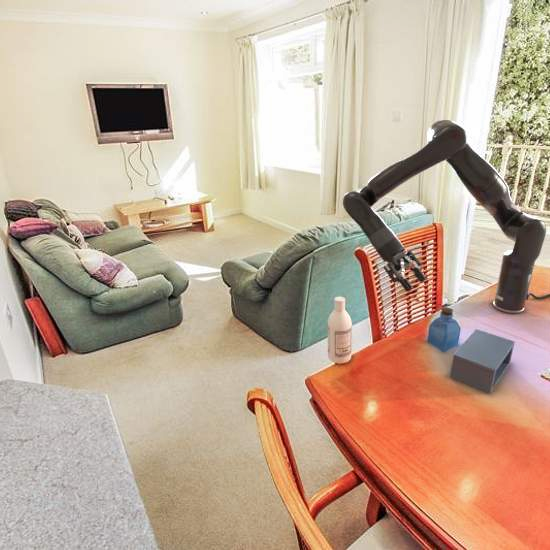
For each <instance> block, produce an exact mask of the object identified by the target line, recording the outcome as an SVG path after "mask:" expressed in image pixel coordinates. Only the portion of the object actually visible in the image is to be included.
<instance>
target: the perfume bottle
mask: <svg viewBox="0 0 550 550" xmlns="http://www.w3.org/2000/svg"><path fill="white" fill-rule="evenodd" d="M461 329H462V328H461V326H460V324H459V323H458V321H457V320H456V319H454V310H453V308H451V307H448V306H446V307H445V306H443V307H441V311H440V314H439V317H435V318H434V320H433V321H432V322H431V323H430V324H429V326H428V334H427V340H426V341H427V343H428V344H430V345H431V346H433V347H435V348H436V349H438V350H440V351H442V352H443V353H445V352H447V351H449V350H452V349H454V348H456V347H458V346H459V342H460V337H461Z"/></svg>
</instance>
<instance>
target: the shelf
mask: <svg viewBox="0 0 550 550" xmlns="http://www.w3.org/2000/svg"><path fill="white" fill-rule="evenodd" d="M515 343H516V342H515V341H514V340H511V339H508V338H506V337H505V338H504V337H503V336H500V335H496V334H493V333H489V332H486V331H483V330H480V329H477V328H476V329H475V330H474V331H473V332H472V333H471V334H470V335H469V336H468V337H467V339H465V341H464V342H463V343H462V344H461V345H460V346H459V348H458V349H457V350H456V351H455V352H454V353H453V355H452V362H451V369H450V375H449V378H450V379H453V380H455V381H457V382H461V383H463V384H464V385H467V386H470V387H472V388H474V389H477V390H479V391H481V392H483V393H487V394H489V395H490V394H491V393H492V392H493V390H494V389H495V388H496V386H497V384H498V382H500V380H501V378H502V376H503V375H504V374H505V372H506V371H507V369H508V367H509V366H510V364H511V360H512V355H513V351H514V348H515Z"/></svg>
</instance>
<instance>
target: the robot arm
mask: <svg viewBox="0 0 550 550" xmlns="http://www.w3.org/2000/svg"><path fill="white" fill-rule="evenodd" d="M467 133H468V132H467V131H466V129H465V128H464V127H463V126H461V125H460V124H458V123H457V122H455V121H454V120H451V119H440V120H437V121H435V122H434V123H432V125H431V126H430V127H429V129H428V131H427V135H426V137H427V138H426V139H427V143H426V145H424V146H423V147H422V148H420V149H419V150H418V151H416V152H415V153H413V154H411V155H410V156H407V157H405V158H403V159H401V160H399V161H397V162H393V163H392V164H390V165H389V166H387V167H385V168H384V169H383V170H381V171H380V172H378V173H377V174H375V175H373V176H372V177H371V178H370V179H369V180H368V181H367V184H366V185H365V186H363V187H362V188H360V189H359V190H351V191H348V192H347V193H345V194H344V195H343V198H342V206H343V209H344V211H345V212H346V213H347V214H348V215H349V217H350V218H351V219H352V220H353V221H354V222H355V223H356V224H357V225H358V226H359V228H360V229H361V231H362V233H363V234H364V235H365V237H366V238H367V239H368V241H369V242H370V244H371V246H372V247H373V248H374V250H375V251H376V253H377V254H378V255H379V257H380V259H382V260H383V262H385V263H386V262H387V263H386V264H385V265H383V270H384V271H385V272H386V274H387V276H388V277H389V278H390V280H391V281H392V283H399V284H400V285H401V286H402V288H403V290H405V291H406V292H408V293H409V292H410V291H413V289H414V287H413V285H412V284H411V283H410V281H409V279H408V278H406V275H405V272H406V271H410V272H412V273H413V275H414V276H415V278H416V279H417V280H418V282H419V283H423V282H424V281H426V280H427V277H426V276H425V274H424V273H423V272H422V270H421V266H422V263H421V262H420V260H419V259H418V258H417V256H416V255H415V253H413V252H412V251H411V250H408V251H407V252H405V251H404V250H405V246H404V245H403V243H402V242H401V241H400V239H399V238H398V237H397V235H396V234H395V232H394V231H393V230H392V229H391V228H390V227H389V226H388V225H387V224H386V222H385V221H384V220H383V219H382V216H380V215H379V214H378V213H377V212H376V211H375V210H374V209H373V208H372V207H373V206H374V205H375V204H376V203H377V202H378V201H379V200H381V199H382V198H384V197H385V196H387V195H389V194H390V193H391V192H393V191H395V190H396V189H398V188H399V187H400V186H402V185H403V184H405V183H406V182H407V181H409V180H411V179H413V178H414V177H416V176H418V175H420V174H421V173H423V172H425V171H427V170H429V169H430V168H432V167H435V166H436V165H438V164H440V163H443V162H444V161H446V162H447V163H448V165H449V166H450V167H451V168H452V170H453V171H454V173H455V174H456V176H457V177H458V179H459V180H460V182H461V183H462V184H463V186H464V187H465V188H466V190H467V191H468V192H469V194H470V195H472V197H473V198H474V199H475V200H476V202H477V203H478V204H479V205H480V206H481V207H482V208H483V209H484V210H485V211H486V212H487V213H488V214H489V215H490V216H491V217H492V218H493V220H494V221H495V222H496V224H497V225H498V227H499V228H500V230H501V232H502V233H503V235H504V236H505V237H506V238H508V239H509V240H511V241H512V242H514V245H513V248H512V250H507V251H505V252H503V255H502V259H501V263H500V264H501V265H500V269H499V270H500V271H499V275H498V280H497V286H496V292H495V295H494V300H493V304H492V306H493V307H494V308H495V309H497V311H501V312H503V313H506V314H507V313H508V314H520V313H523V312H524V311H525V306H526V301H528V300H529V299H530V296H531V297H532V298H533V299H536V300H543V299H546V298H549V297H550V293H548V294H546V295H543V296H537V295H535V294H534V293H532V292H530V291H529V290H530V285H531V280H532V276H533V272H534V267H535V263H536V261H537V259H539V257H540V254H541V251H542V248H543V245H544V242H545V238H546V234H547V225H546V223H545V222H544V221H543V220H542V219H540V218H537V217H535V216H532V215H529V214H527V213H526V212H524V211H522V210H521V209H520V208H519V207H518V206H517V205H516V204H515V202H513V200H512V198H511V194H510V189H509V185H508V183H507V182H506V181H505V179H504V178H503V177H502V176H501V175H500V173H499V172H498V171H497V170H496V168H494V166H492V165H491V163H490V162H489V161H487V160H486V159H485V158H484V157H482V156H481V155H480V154H479V153H478V152H476V150H474V149H473V148H472V146H471V145H470V143H469V142H468V134H467Z"/></svg>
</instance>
